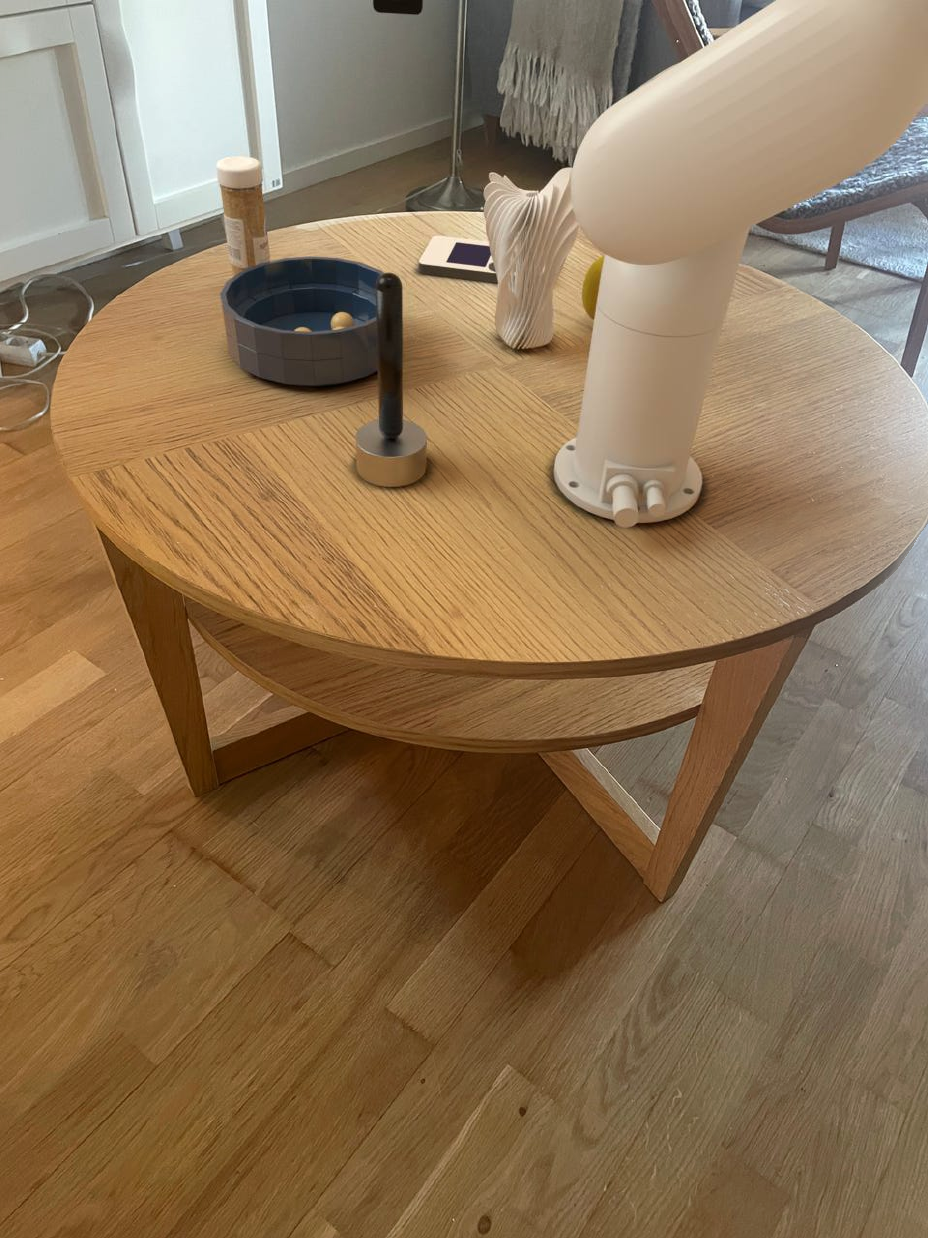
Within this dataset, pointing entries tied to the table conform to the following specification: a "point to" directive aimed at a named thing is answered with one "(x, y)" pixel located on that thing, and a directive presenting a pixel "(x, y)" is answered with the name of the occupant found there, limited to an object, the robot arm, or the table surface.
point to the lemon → (592, 287)
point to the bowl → (302, 320)
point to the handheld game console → (459, 259)
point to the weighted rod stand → (390, 402)
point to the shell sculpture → (528, 253)
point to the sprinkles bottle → (243, 211)
